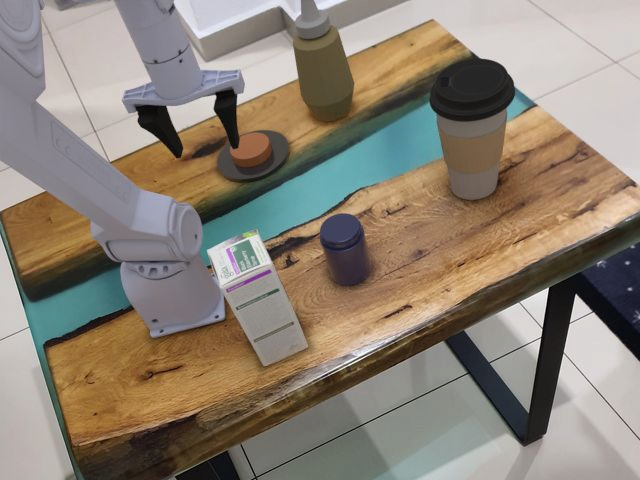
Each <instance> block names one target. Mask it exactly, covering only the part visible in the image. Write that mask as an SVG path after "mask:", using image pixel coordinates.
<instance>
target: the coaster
mask: <svg viewBox="0 0 640 480" xmlns="http://www.w3.org/2000/svg"><path fill="white" fill-rule="evenodd" d="M249 133H262V134H265V135H266V136H267V137H268V138H269V141H270V143H271V146H272V152H271V155H270V156H269V158H268V159H267V160H265V161H264V162H263V163H261V164H259V165H256V166H253V167H241V166H238V165H237V164H235V163H234V161H233V159H232V156H231V154H230V147H231V145H230V142H229V141H228V142H227V144H225V146H224V147H222V149H221V150H220V152H219V154H218V156H217V159H216V166H217V170H218V171H219V174H221V176H222V177H224V178H225V179H226V180H228V181H232V182H235V183H236V182H237V183H251V182H255V181H256V182H257V181H259V180H262V179H264V178H267V177H269V176H271V175H272V174H274V173H276V172H277V171H279V169H280V168H282V167H283V166H284V164H285V163H286V161H287V160H288V159H289V155H290V153H291V152H290V151H291V148H290V143H289V141H288V139H287V138H286V137H285V136H284V135H283V134H282V133H280V132H278V131H275V130H269V129H259V130H253V131H249V132H245V133H243V134H241V135H239V137H241V136H243V135H246V134H249Z"/></svg>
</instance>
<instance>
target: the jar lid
mask: <svg viewBox="0 0 640 480" xmlns="http://www.w3.org/2000/svg"><path fill="white" fill-rule="evenodd" d="M248 133H249V132H248ZM245 134H246V133H245ZM242 135H243V134H242ZM240 136H241V135H240ZM239 138H240V141H239V147H238V149H233V148H232V147H230V154H231V156H232V159H233V161H234V163H235V164H237V165H238V166H241V167H253V166H256V165H259V164H261V163H263V162H264V161H265V160H267V159H268V158H269V156H270V155H271V152H272V146H271V143H270V141H269V138H268V137H267V136H266V135H265V134H262V133H249V134H246V135H243V136H241V137H239Z"/></svg>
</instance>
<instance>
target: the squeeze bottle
mask: <svg viewBox="0 0 640 480" xmlns="http://www.w3.org/2000/svg"><path fill="white" fill-rule="evenodd" d="M294 26H295V31H296V34H295V36H294V37H293V40H292V46H293V54H294V59H295V66H296V71H297V72H296V73H297V78H298V79H297V80H298V85H299V91H300V96H301V99H302V101H303V103H304V104H305V105H306V107H307V108H308V110H309V111H310V112H311V114H312V115H313V117H314V118H315V119H317V120H318V121H321V122H335V121H337V120H340V119H342V118H344V117H345V116H347V115H348V113H349V112H351V109H352V104H353V96H354V89H355V80H354V76H353V74H352V70H351V66H350V65H349V61H348V58H347V54H346V51H345V49H344V45H343V42H342V39H341V36H340V32H339V29H338V28H337V27H336V26H334V25H333V24H331V22H330V17H329V13H328V12H327V11H326V10H324V9H319V8H318V6H317V4H316V1H315V0H300V14H299V15H298V16H297V17H296V18H295V21H294Z"/></svg>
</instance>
